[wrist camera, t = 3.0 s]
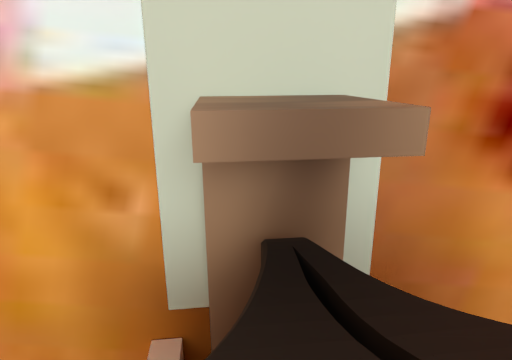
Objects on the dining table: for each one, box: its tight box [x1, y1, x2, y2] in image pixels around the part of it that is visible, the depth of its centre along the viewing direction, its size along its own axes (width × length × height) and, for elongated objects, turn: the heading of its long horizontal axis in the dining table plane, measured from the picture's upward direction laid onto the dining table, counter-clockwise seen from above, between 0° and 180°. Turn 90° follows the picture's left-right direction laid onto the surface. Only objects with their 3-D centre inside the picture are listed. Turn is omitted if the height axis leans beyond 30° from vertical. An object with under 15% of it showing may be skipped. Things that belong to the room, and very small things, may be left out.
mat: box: [141, 0, 397, 310], centre depth 12 cm, size 8×12×1 cm, turn 0°
